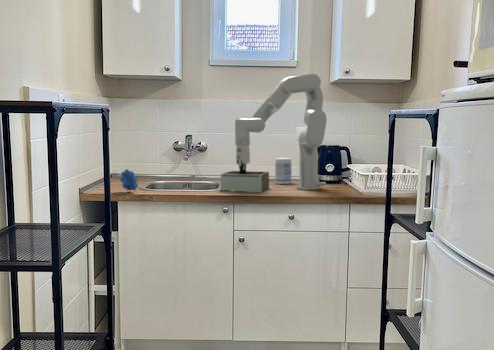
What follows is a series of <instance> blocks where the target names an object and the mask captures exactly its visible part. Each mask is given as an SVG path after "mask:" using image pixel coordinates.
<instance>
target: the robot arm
mask: <svg viewBox="0 0 494 350" xmlns="http://www.w3.org/2000/svg"><path fill="white" fill-rule="evenodd" d="M321 84H322V80H321V77H320V76H319V75H318V74H315V73H309V74H301V75H296V76H295V75H294V76H288V77H285V78H283V79H282V80H281V81H280V82H279V83H278V85H277V86H276V87H275V88H274V89H273V91H272V92H271V93H270V94H269V95H268V97H267V98H266V100H264V102H263V103H262V104H261V106H259V108H258V109H257V110H256V112H255V113H254V114H253V115H252V116H251V118H236V119H235V121H234V133H235V134H234V136H235V137H234V138H235V140H234V142H235V146H236V150H235V151H236V152H235V163H236V164H237V165H238V166H237V167H238V168H239V170H238V171H239V174H246V171H247V165H248V164H250V163H251V153H250V143H251V141H250V139H251V136H250V134H251V133H262V132H263V131H264V130H265V128H266V122H267V120H269V119H270V118H271V116H273V115H274V114H275V113H277V112H279V110H281V108H283V105H285V103H287V102H286V101H288V99H289V98H290V97H291V96H292V94H299V93H300V94H301V93H305V95H306V105H305V112H304V116H303V122H304V124H305V125H306V127H307V128H306V129H305V130H303V131H302V132H301V133H300V135H299V137H298V145H299V185H297V186H296V189H298V190H303V191H304V190H305V191H314V190H315V191H316V190H320V189H321V186H322V187H324V186H326V185H327V184H326V181H320V179H318V175H319V174H318V173H319V171H318V166H319V163H318V160H319V155H318V154H319V153H318V148H319V147H321V146H322V144H323V142H324V138H325V133H326V128H327V120H328V119H327V115H326V113H325V111H324V110H323V104H324V103H323V102H324V94H323V90H322V89H321ZM250 132H251V133H250Z"/></svg>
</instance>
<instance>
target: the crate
mask: <svg viewBox="0 0 494 350" xmlns="http://www.w3.org/2000/svg"><path fill="white" fill-rule="evenodd" d="M221 174H239V170H228V171H226V172H222V173H221ZM246 174H249V175H262V192H261V193H263V192H265V191H267V190H268V189H270V172H269V171H255V170H254V171H249V170H248V171H247V170H246Z"/></svg>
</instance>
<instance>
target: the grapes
mask: <svg viewBox="0 0 494 350" xmlns="http://www.w3.org/2000/svg"><path fill="white" fill-rule="evenodd" d="M120 174H121V177H120V182H121V183H122V188H123V189H125V190H126V191H127V190H136V191H137V188H138V187H139V184H138V183H137V182H138V180H139V179H138V177H137V176H135V172H134V171H132V170H131V171H130V169H126V168H125V170H124V171H122V172H121V173H120Z"/></svg>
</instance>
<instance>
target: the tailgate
mask: <svg viewBox="0 0 494 350" xmlns="http://www.w3.org/2000/svg"><path fill="white" fill-rule="evenodd" d="M221 190H234V191H233V192H235V191H250V192H249V193H263V192H262V175H249V174H222V173H220V191H221Z"/></svg>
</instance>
